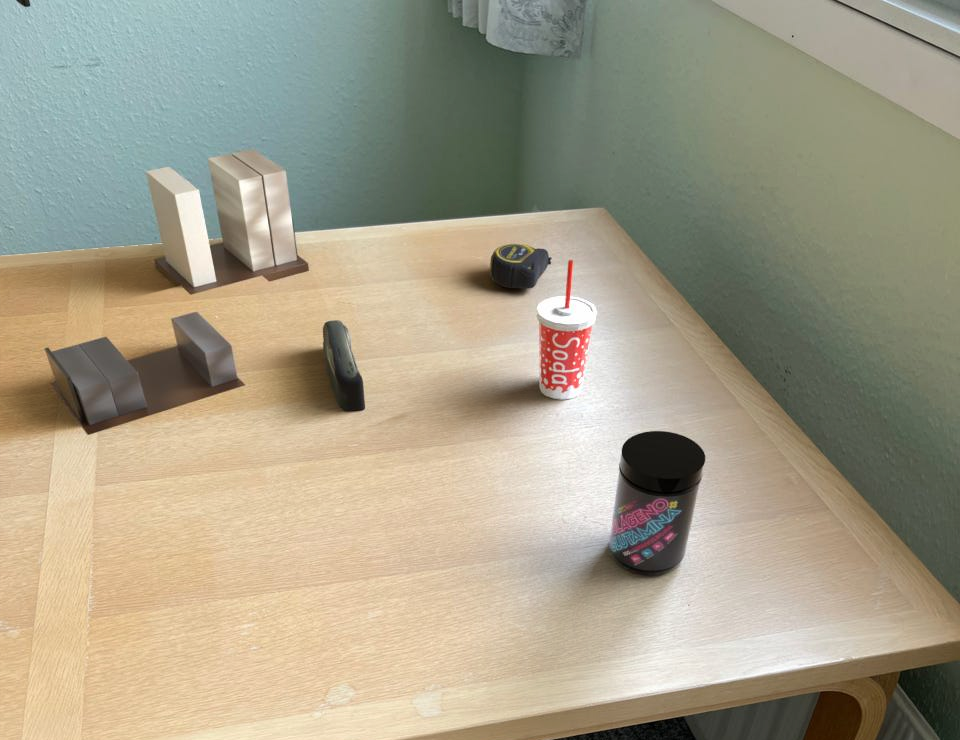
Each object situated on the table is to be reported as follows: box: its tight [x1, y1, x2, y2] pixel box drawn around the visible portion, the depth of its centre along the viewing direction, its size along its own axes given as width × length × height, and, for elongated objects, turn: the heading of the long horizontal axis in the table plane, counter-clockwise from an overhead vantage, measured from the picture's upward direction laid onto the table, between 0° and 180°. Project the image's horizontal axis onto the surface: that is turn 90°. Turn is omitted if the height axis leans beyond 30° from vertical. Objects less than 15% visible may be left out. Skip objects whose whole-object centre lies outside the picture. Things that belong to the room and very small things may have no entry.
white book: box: [145, 166, 216, 287], centre depth 116 cm, size 3×9×11 cm, turn 35°
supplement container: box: [608, 430, 706, 576], centre depth 80 cm, size 7×7×10 cm
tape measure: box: [489, 243, 553, 289], centre depth 120 cm, size 7×7×4 cm
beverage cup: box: [536, 259, 598, 401], centre depth 98 cm, size 6×6×14 cm
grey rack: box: [44, 311, 246, 436], centre depth 100 cm, size 17×12×6 cm
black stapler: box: [322, 319, 366, 413], centre depth 102 cm, size 5×3×15 cm
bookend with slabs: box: [153, 148, 310, 296], centre depth 119 cm, size 16×12×12 cm
